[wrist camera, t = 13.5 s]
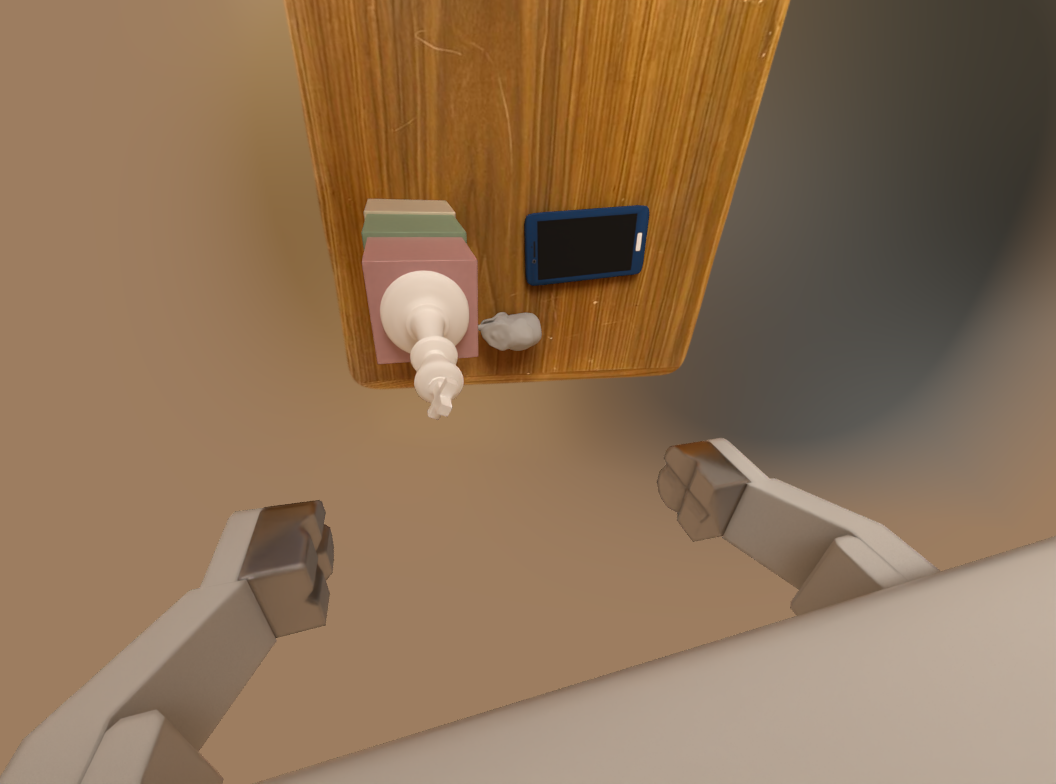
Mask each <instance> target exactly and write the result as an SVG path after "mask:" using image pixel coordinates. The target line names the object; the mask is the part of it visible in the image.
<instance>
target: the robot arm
mask: <svg viewBox="0 0 1056 784" xmlns="http://www.w3.org/2000/svg"><path fill="white" fill-rule="evenodd" d="M664 460H665V462H666V463H667V464H666V465H665V466H664V468H663V469H661V471H660V472H659V476H658V480H657V484H658V491H659V494H660V496H661V499H662V500H663V502H664V503H665V505H666V506H667V507H668V508H670V509H672V510H674V511H675V512H677V514H678V515H677V521H678V522H679V524H680V525H681V526H682V528H683V529H684V530H685V532H686V533H687V535H688V536H689V537H690V539H691V540H692V541H693V542H694V541H699V540H704V539H710V538H715V537H719V536H723V537H722V538H723V539H725V540H727V541H728V542H729V543H731V544H732V545H734V546H735V547H737V548H738V549H740V550H741V551H742V552H744V553H746V554H747V555H749V556H750V557H751V558H753V559H754V560H756V561H757V562H759V563H760V564H762V565H763V566H765V567H766V568H768V569H769V570H771V571H772V572H774V573H775V574H776V575H778V576H779V577H781V578H782V579H784V580H785V581H787V582H788V583H790V584H791V585H793V586H794V587H796V588H797V589H799V591H798V592H797V594H796V595H795V597H794V598H793V600H792V601H791V607H790V608H791V609H792V610H793V612H794V613H795V614H796V615H797V616H795V617H792V618H788V619H785V620H782V621H779V622H775V623H772V624H769V625H766V626H763V627H759V628H756V629H753V630H749V631H746V632H743V633H740V634H736V635H733V636H730V637H727V638H724V639H721V640H717V641H714V642H711V643H708V644H704V645H701V646H698V647H694V648H691V649H688V650H684V651H681V652H678V653H675V654H671V655H669V656H665V657H662V658H658V659H655V660H652V661H649V662H645V663H643V664H639V665H636V666H633V667H629V668H626V669H623V670H620V671H616V672H613V673H610V674H607V675H603V676H600V677H597V678H594V679H591V680H587V681H584V682H581V683H577V684H574V685H571V686H568V687H564V688H561V689H558V690H555V691H552V692H548V693H545V694H542V695H539V696H535V697H532V698H529V699H526V700H522V701H519V702H516V703H512V704H509V705H506V706H503V707H500V708H496V709H493V710H490V711H487V712H484V713H480V714H477V715H474V716H470V717H467V718H464V719H461V720H457V721H454V722H451V723H448V724H444V725H441V726H438V727H435V728H432V729H428V730H425V731H422V732H418V733H415V734H412V735H409V736H406V737H402V738H399V739H396V740H393V741H389V742H386V743H383V744H380V745H376V746H373V747H370V748H367V749H364V750H360V751H357V752H354V753H351V754H347V755H344V756H341V757H337V758H334V759H331V760H328V761H325V762H321V763H318V764H315V765H312V766H308V767H305V768H302V769H299V770H296V771H292V772H289V773H286V774H283V775H279V776H276V777H273V778H270V779H266V780H263V781H260V782H257V783H253V784H1056V536H1054V537H1051V538H1048V539H1044V540H1041V541H1038V542H1035V543H1032V544H1028V545H1025V546H1022V547H1019V548H1016V549H1012V550H1009V551H1006V552H1002V553H999V554H996V555H993V556H990V557H986V558H983V559H980V560H976V561H974V562H970V563H967V564H964V565H961V566H957V567H954V568H950V569H947V570H944V571H940V570H939V569H937V568H936V567H935V566H934V565H932V564H931V563H930V562H929V561H927V560H926V559H925V558H924V557H922V556H921V555H920V554H919V553H918V552H916V551H915V550H914V549H912V548H911V547H910V546H909V545H907V544H906V543H905V542H904V541H903V540H901V539H900V538H899V537H898V536H896V535H895V534H894V533H893V532H891V531H890V530H889V529H888V528H886V527H885V526H884V525H882V524H880V523H878V522H875V521H873V520H871V519H868V518H866V517H864V516H861V515H859V514H857V513H854V512H852V511H850V510H847V509H845V508H843V507H840V506H838V505H836V504H833V503H831V502H829V501H826V500H824V499H822V498H820V497H817V496H815V495H813V494H810V493H808V492H806V491H803V490H801V489H799V488H796V487H794V486H792V485H789V484H787V483H785V482H782V481H780V480H778V479H776V478H775V479H769V478H768V477H767V476H766V475H765V474H764V473H763V472H762V471H761V470H760V469H758V468H757V467H756V466H755V465H754V464H753V463H752V462H751V461H750V460H749V459H747V458H746V457H745V456H744V455H743V454H742V453H741V452H740V451H739V450H738V449H737V448H735V447H734V446H733V445H732V444H731V443H730V442H729V441H728V440H725V439H723V438H717V439H711V440H705V441H700V442H693V443H688V444H681V445H675V446H670V447H669V448H668V449H667V451H666V453H665V456H664ZM324 519H325V509H324V507H323V504H322V502H321V501H320V500H316V501H309V502H300V503H294V504H285V505H278V506H270V507H264V508H259V509H252V510H243V511H235V512H234V513H233V515H232V516H230V518H229V519H228V521H227V523H226V526H225V528H224V531H223V533H222V535H221V538H220V540H219V543H218V545H217V548H216V550H215V552H214V555H213V557H212V559H211V562H210V565H209V567H208V569H207V572H206V574H205V576H204V579H203V581H202V584H201V586H200V588H198V589H194V590H190V591H188V592H187V593H186V594H185V595H184V596H183V597H182V598H181V599H179V601H177V602H176V603H175V604H174V605H173V606H172V607H171V608H169V609H168V610H167V611H166V612H165V613H164V614H163V615H162V616H161V617H159V618H158V619H157V620H156V621H155V622H154V623H153V624H151V625H150V626H149V627H148V628H147V629H146V630H145V631H144V632H143V633H141V634H140V635H139V636H138V637H137V638H136V639H135V640H134V641H133V642H131V643H130V644H129V645H128V646H127V647H126V648H125V649H124V650H122V651H121V652H120V653H119V654H118V655H117V656H116V657H115V658H114V659H112V660H111V661H110V662H109V663H108V664H107V665H106V666H105V667H104V668H102V669H101V670H100V671H99V672H98V673H97V674H96V675H95V676H93V677H92V678H91V679H90V680H89V681H88V682H87V683H86V684H85V685H83V686H82V687H81V688H80V689H79V690H78V691H77V692H76V693H74V694H73V696H71V697H70V698H69V699H68V700H67V701H65V702H64V703H63V704H62V705H61V706H60V707H59V708H58V709H57V710H55V711H54V712H53V713H52V714H51V715H50V716H49V717H48V718H46V719H45V720H44V721H43V722H42V723H41V724H40V725H39V726H38V727H36V728H35V729H34V730H33V731H32V732H31V733H30V734H29V735H28V736H26V737H25V738H24V739H23V740H22V742H21V744H20V745H19V747H18V748H17V750H16V752H15V754H14V755H13V757H12V758H11V760H10V762H9V764H8V765H7V767H6V768H5V770H4V772H3V774H2V775H1V777H0V784H222V783H223V778H222V776H221V775H220V774H219V772H218V771H217V770H216V769H215V768H214V767H213V766H212V765H211V764H210V763H209V762H208V761H207V760H206V759H205V758H204V757H203V756H202V755H201V754H200V753H199V750H200V749H201V748H202V746H203V745H204V743H205V742H206V740H207V739H208V738H209V736H210V734H211V733H212V732H213V730H214V729H215V728H216V726H217V725H218V723H219V722H220V721H221V719H222V717H223V716H224V715H225V713H226V712H227V711H228V709H229V708H230V706H231V705H232V703H233V702H234V701H235V699H236V698H237V696H238V695H239V694H240V692H241V691H242V689H243V688H244V686H245V685H246V683H247V682H248V681H249V679H250V678H251V676H252V675H253V674H254V672H255V671H256V669H257V668H258V667H259V665H260V664H261V662H262V661H263V659H264V658H265V657H266V655H267V654H268V652H269V651H270V649H271V648H272V646H273V645H274V644H275V642H276V638H278V637H281V636H286V635H290V634H294V633H298V632H302V631H305V630H309V629H313V628H317V627H321V626H325V625H326V618H327V610H328V603H329V595H330V593H329V590H328V586H327V583H326V580H327V579H328V578H329V576H330V575H331V574H332V571H333V562H334V545H333V538H332V533H331V530H330V527H328V526H327V525H325V524H324Z"/></svg>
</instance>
